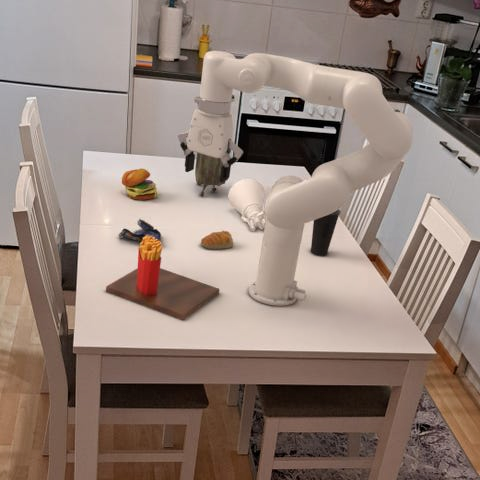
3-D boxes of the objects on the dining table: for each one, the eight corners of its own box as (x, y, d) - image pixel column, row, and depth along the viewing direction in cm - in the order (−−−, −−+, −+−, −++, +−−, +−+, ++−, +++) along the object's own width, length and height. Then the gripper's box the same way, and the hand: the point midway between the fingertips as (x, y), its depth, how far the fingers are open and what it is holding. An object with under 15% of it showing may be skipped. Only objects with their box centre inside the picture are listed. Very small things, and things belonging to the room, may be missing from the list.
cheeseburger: (156, 203, 254) (151, 173, 250) (123, 206, 255) (117, 176, 250) (159, 191, 263) (154, 162, 259) (127, 195, 264) (121, 166, 259)
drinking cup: (336, 254, 237) (350, 190, 228) (321, 260, 232) (334, 194, 223) (316, 245, 242) (328, 182, 232) (300, 250, 236) (312, 186, 227)
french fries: (133, 280, 201) (137, 233, 195) (150, 280, 203) (154, 232, 197) (143, 298, 194) (148, 248, 188) (160, 297, 195) (165, 248, 189)
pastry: (209, 252, 226) (210, 240, 224) (194, 243, 231) (196, 231, 229) (234, 247, 232) (236, 235, 230) (220, 238, 236) (222, 226, 235)
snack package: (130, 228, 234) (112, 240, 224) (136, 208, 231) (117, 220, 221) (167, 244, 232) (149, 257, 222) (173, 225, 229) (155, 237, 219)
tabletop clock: (193, 183, 276) (201, 111, 265) (219, 185, 278) (228, 113, 267) (196, 198, 264) (205, 123, 252) (223, 200, 265) (233, 125, 254)
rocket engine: (267, 204, 239) (252, 172, 252) (234, 224, 241) (221, 191, 254) (284, 229, 246) (269, 196, 259) (252, 248, 249) (239, 215, 262)
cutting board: (218, 294, 204) (219, 288, 204) (183, 320, 189) (183, 314, 189) (145, 268, 212) (146, 263, 211) (105, 291, 197) (106, 286, 196)
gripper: (174, 100, 189) (168, 170, 197) (239, 117, 183) (230, 188, 191) (190, 96, 195) (183, 163, 203) (254, 112, 189) (244, 181, 197)
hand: (206, 175), depth 197 cm, fingers open, 9 cm apart
